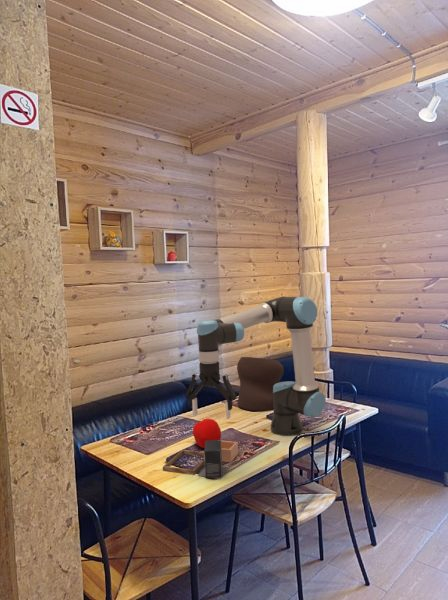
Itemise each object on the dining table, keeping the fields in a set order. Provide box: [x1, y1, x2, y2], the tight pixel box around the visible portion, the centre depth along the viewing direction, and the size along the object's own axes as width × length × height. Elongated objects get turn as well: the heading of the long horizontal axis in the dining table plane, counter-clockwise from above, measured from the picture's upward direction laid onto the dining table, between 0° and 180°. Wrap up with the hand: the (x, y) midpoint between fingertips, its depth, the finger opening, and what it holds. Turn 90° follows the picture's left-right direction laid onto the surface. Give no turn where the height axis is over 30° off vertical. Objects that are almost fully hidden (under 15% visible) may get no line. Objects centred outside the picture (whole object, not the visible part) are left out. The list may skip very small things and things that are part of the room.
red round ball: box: [192, 418, 222, 449], centre depth 197 cm, size 13×13×13 cm
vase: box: [236, 356, 285, 412], centre depth 254 cm, size 27×27×30 cm
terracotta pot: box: [220, 439, 239, 463], centre depth 184 cm, size 9×9×5 cm
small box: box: [203, 439, 223, 479], centre depth 169 cm, size 11×6×10 cm, turn 0°
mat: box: [197, 466, 229, 480], centre depth 170 cm, size 9×9×1 cm
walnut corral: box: [162, 449, 205, 476], centre depth 179 cm, size 14×18×2 cm
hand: (211, 416), depth 169 cm, fingers open, 13 cm apart
